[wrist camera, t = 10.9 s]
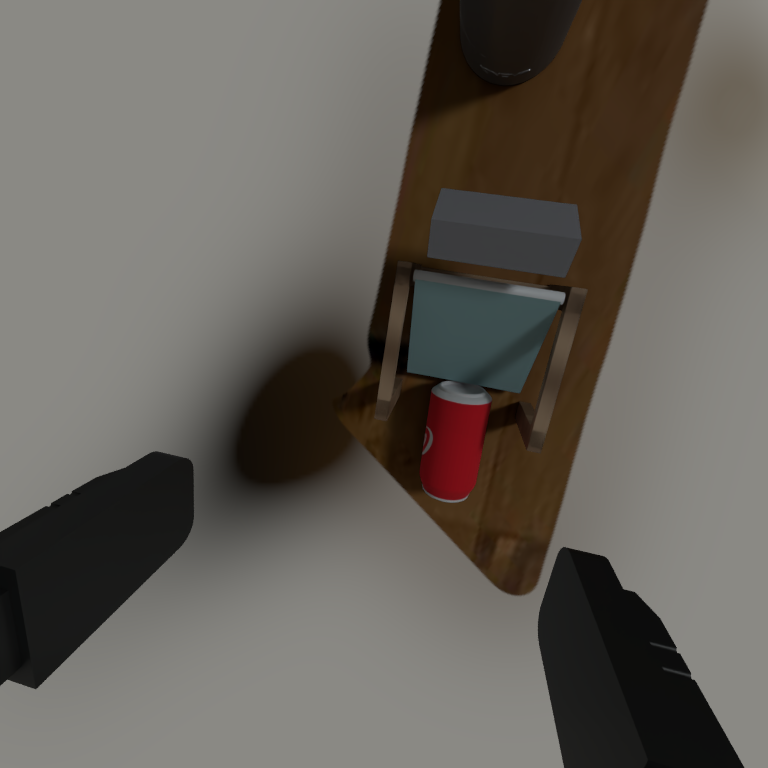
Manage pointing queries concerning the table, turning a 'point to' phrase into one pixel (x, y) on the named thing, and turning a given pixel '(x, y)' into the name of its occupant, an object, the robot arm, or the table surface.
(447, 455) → the beverage can
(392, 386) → the trapdoor frame
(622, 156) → the table surface
